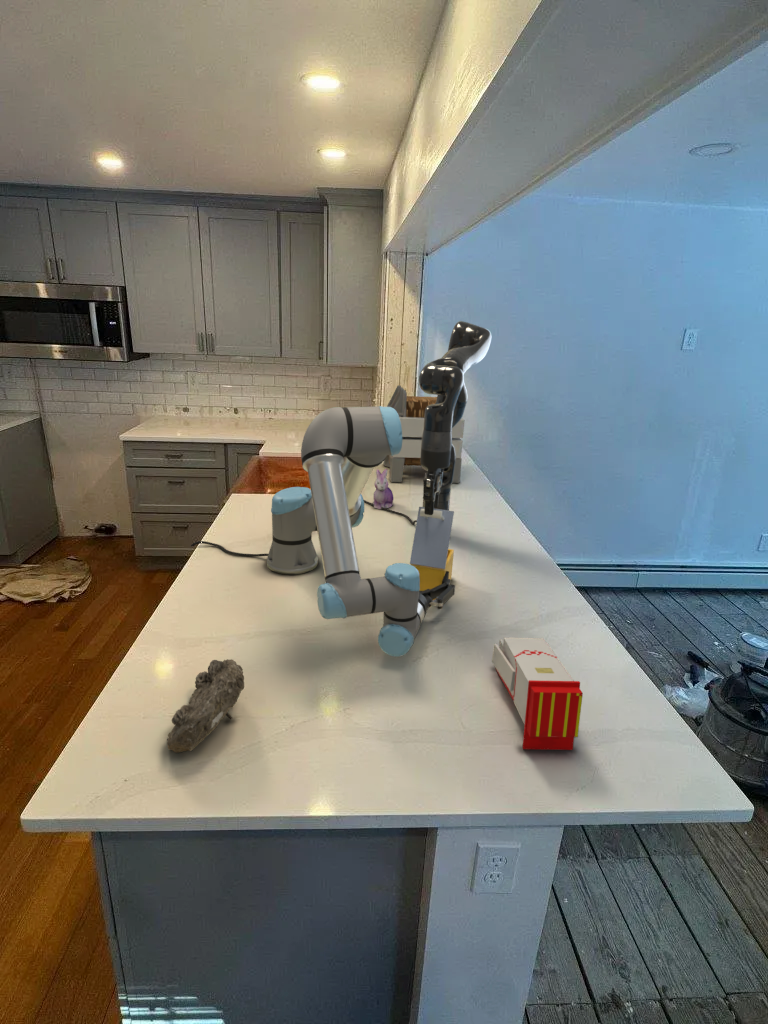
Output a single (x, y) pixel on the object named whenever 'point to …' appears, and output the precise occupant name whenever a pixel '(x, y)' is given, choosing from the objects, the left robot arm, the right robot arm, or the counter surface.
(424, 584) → the chest
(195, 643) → the counter surface
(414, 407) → the grey slatted crate
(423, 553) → the lid
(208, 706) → the fossil
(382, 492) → the figurine
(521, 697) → the toy
